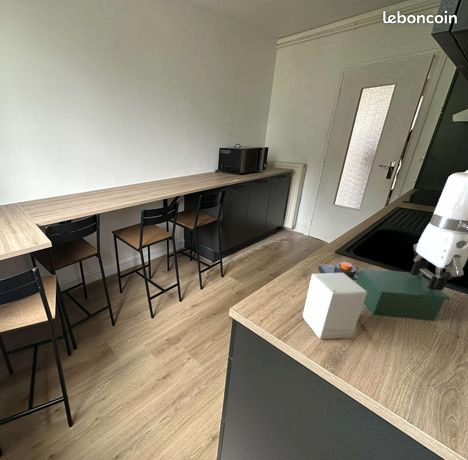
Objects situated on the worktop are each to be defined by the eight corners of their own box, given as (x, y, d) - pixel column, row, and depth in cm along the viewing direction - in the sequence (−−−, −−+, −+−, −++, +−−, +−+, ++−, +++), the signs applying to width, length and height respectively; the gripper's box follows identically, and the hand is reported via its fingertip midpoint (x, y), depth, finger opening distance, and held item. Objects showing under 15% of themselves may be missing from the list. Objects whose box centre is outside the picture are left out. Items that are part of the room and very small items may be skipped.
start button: (348, 266, 91) (349, 262, 90) (352, 271, 88) (354, 267, 88) (338, 265, 92) (339, 261, 91) (342, 270, 89) (343, 266, 88)
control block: (347, 271, 94) (350, 262, 93) (358, 284, 87) (361, 274, 86) (318, 269, 96) (320, 260, 95) (326, 281, 89) (328, 272, 88)
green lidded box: (404, 298, 80) (414, 275, 76) (432, 325, 69) (445, 299, 66) (352, 293, 83) (359, 271, 79) (371, 319, 72) (380, 294, 69)
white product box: (353, 338, 66) (369, 292, 60) (319, 340, 66) (332, 293, 60) (331, 314, 74) (343, 271, 68) (301, 315, 74) (311, 273, 68)
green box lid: (417, 275, 76) (423, 261, 74) (448, 299, 66) (456, 285, 64) (359, 271, 79) (363, 258, 77) (381, 294, 69) (386, 280, 67)
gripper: (505, 237, 55) (469, 303, 62) (442, 211, 70) (419, 266, 78) (463, 236, 56) (432, 300, 64) (411, 211, 72) (391, 264, 79)
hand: (425, 281), depth 71 cm, fingers closed on green box lid, 6 cm apart
